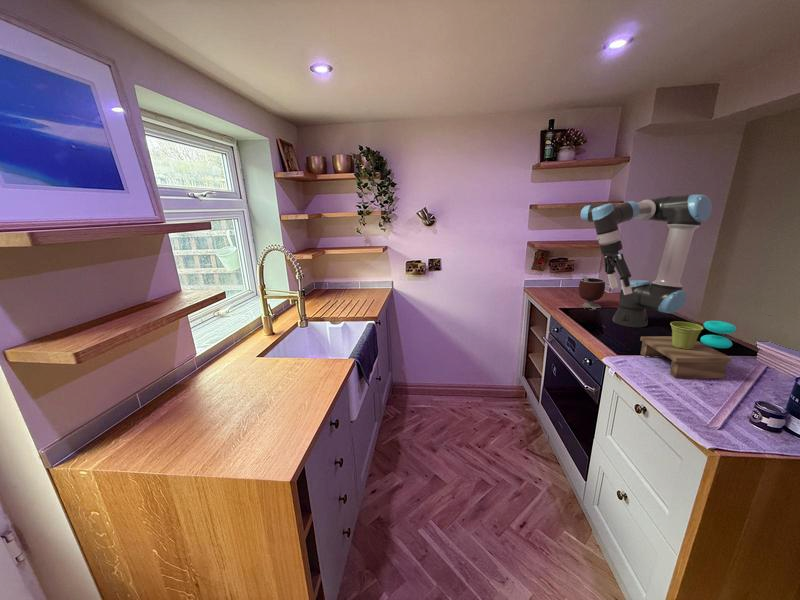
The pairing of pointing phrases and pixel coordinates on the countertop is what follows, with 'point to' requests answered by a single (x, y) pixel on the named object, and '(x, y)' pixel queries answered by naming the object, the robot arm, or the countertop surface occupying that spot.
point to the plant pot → (685, 334)
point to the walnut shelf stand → (687, 358)
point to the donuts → (715, 339)
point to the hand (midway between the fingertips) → (621, 290)
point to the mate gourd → (591, 290)
